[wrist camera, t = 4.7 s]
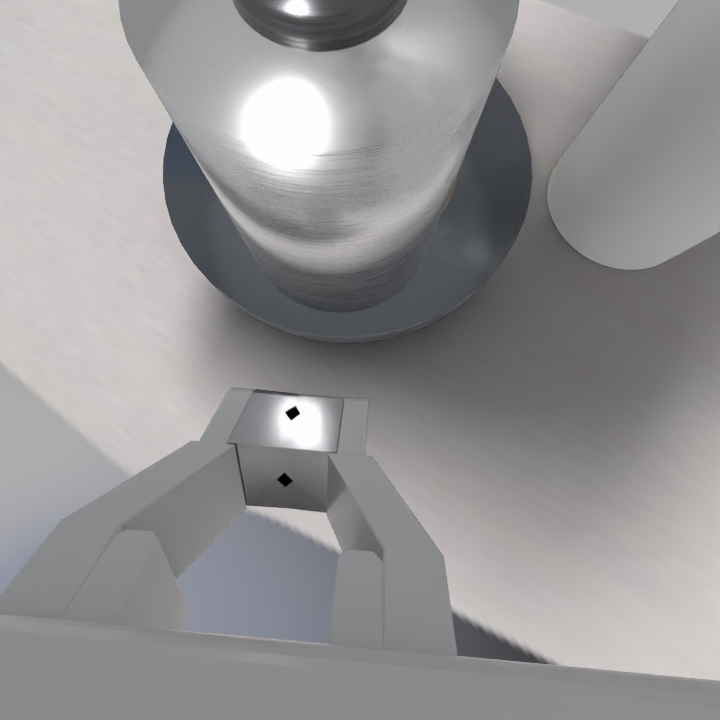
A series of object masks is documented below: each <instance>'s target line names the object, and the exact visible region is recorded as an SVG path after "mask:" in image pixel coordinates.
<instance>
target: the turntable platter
mask: <svg viewBox="0 0 720 720" xmlns="http://www.w3.org/2000/svg"><path fill="white" fill-rule="evenodd" d="M531 178H532V175H531V156H530V151H529V146H528V141H527V136H526V133H525V130H524V127H523V124H522V122H521V119H520V116H519V114H518V112H517V110H516V108H515V106H514V104H513V102H512V100H511V98H510V97H509V95H508V94H507V92H506V91H505V90H504V88H503V87H502V85H501V84H500V82H499V81H498V80H497V79H496V78H495V80H494V83H493V85H492V88H491V90H490V93H489V95H488V98H487V100H486V103H485V105H484V108H483V111H482V113H481V116H480V118H479V121H478V123H477V126H476V128H475V131H474V133H473V136H472V138H471V141H470V144H469V146H468V149H467V151H466V154H465V156H464V159H463V161H462V164H461V166H460V169H459V172H458V174H457V177H456V179H455V182H454V184H453V187H452V189H451V192H450V194H449V197H448V199H447V202H446V205H445V207H444V210H443V212H442V215H441V217H440V220H439V222H438V225H437V227H436V230H435V233H434V235H433V238H432V240H431V243H430V245H429V248H428V250H427V253H426V255H425V258H424V260H423V262H422V264H421V266H420V268H419V270H418V271H417V273H416V275H415V276H414V277H413V279H412V280H411V281H410V282H409V283H408V284H407V286H405V287H404V288H403V289H402V290H401V291H400V292H399V293H398V294H396V295H395V296H393V297H392V298H390V299H389V300H387V301H385V302H383V303H381V304H379V305H377V306H374V307H371V308H368V309H364V310H360V311H355V312H344V313H337V312H325V311H320V310H315V309H312V308H309V307H306V306H303V305H301V304H299V303H297V302H295V301H293V300H291V299H290V298H288V297H287V296H285V295H284V294H282V293H281V292H280V291H279V290H278V289H276V288H275V287H274V285H273V284H272V283H271V282H270V281H269V280H268V279H267V277H266V276H265V274H264V273H263V272H262V270H261V268H260V267H259V265H258V263H257V262H256V260H255V258H254V257H253V255H252V253H251V252H250V250H249V248H248V247H247V245H246V243H245V242H244V240H243V238H242V237H241V235H240V233H239V231H238V230H237V228H236V226H235V225H234V223H233V221H232V220H231V218H230V216H229V215H228V213H227V211H226V210H225V208H224V206H223V205H222V203H221V201H220V200H219V198H218V196H217V195H216V193H215V191H214V189H213V188H212V186H211V184H210V183H209V181H208V179H207V178H206V176H205V174H204V173H203V171H202V169H201V168H200V166H199V164H198V163H197V161H196V159H195V158H194V156H193V154H192V153H191V151H190V149H189V147H188V146H187V144H186V142H185V141H184V139H183V137H182V136H181V134H180V132H179V131H178V129H177V127H176V126H175V124H174V122H172V126H171V129H170V132H169V135H168V138H167V143H166V149H165V154H164V163H163V184H164V192H165V199H166V205H167V208H168V211H169V215H170V218H171V222H172V225H173V227H174V229H175V231H176V233H177V236H178V238H179V240H180V242H181V244H182V246H183V247H184V249H185V250H186V252H187V253H188V255H189V257H190V258H191V260H192V261H193V263H194V264H195V265H196V266H197V267H198V269H199V270H200V271H201V272H202V273H203V274H204V275H205V276H206V278H207V279H208V280H209V281H210V282H211V283H212V284H213V285H214V286H215V287H216V288H217V289H218V290H219V291H220V292H221V293H222V294H223V295H224V296H225V297H226V298H228V299H229V300H230V301H231V302H232V303H234V304H235V305H236V306H237V307H238V308H240V309H241V310H243V311H244V312H246V313H247V314H249V315H250V316H252V317H254V318H255V319H257V320H258V321H260V322H263V323H265V324H267V325H269V326H271V327H273V328H275V329H278V330H280V331H283V332H286V333H289V334H292V335H296V336H299V337H302V338H307V339H312V340H318V341H324V342H336V343H360V342H373V341H379V340H384V339H389V338H393V337H398V336H401V335H404V334H407V333H410V332H413V331H416V330H419V329H421V328H424V327H426V326H427V325H429V324H431V323H433V322H435V321H437V320H439V319H441V318H443V317H445V316H446V315H448V314H449V313H450V312H452V311H453V310H455V309H456V308H458V307H459V306H461V305H462V304H463V303H464V302H465V301H466V300H467V299H469V298H470V297H471V296H472V295H473V294H474V293H475V292H476V291H477V290H478V289H479V288H480V287H481V286H482V285H483V284H484V282H485V281H486V280H487V279H488V278H489V277H490V275H491V274H492V273H493V272H494V271H495V269H496V268H497V267H498V266H499V264H500V263H501V262H502V261H503V260H504V258H505V256H506V255H507V253H508V251H509V250H510V248H511V247H512V245H513V243H514V242H515V240H516V238H517V235H518V233H519V230H520V228H521V226H522V223H523V221H524V218H525V214H526V210H527V206H528V202H529V198H530V188H531Z"/></svg>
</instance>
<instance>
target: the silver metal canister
mask: <svg viewBox="0 0 720 720" xmlns="http://www.w3.org/2000/svg"><path fill="white" fill-rule="evenodd" d="M518 5H519V0H119V8H120V17H121V22H122V25H123V29H124V32H125V35H126V39H127V42H128V44H129V46H130V48H131V50H132V52H133V54H134V56H135V58H136V60H137V62H138V63H139V65H140V67H141V69H142V70H143V72H144V74H145V75H146V77H147V79H148V80H149V82H150V84H151V85H152V87H153V89H154V90H155V92H156V94H157V95H158V97H159V99H160V100H161V102H162V104H163V105H164V107H165V109H166V111H167V112H168V114H169V116H170V117H171V119H172V121H173V122H174V124H175V126H176V127H177V129H178V131H179V132H180V134H181V136H182V137H183V139H184V141H185V142H186V144H187V146H188V147H189V149H190V151H191V153H192V154H193V156H194V158H195V159H196V161H197V163H198V164H199V166H200V168H201V169H202V171H203V173H204V174H205V176H206V178H207V179H208V181H209V183H210V184H211V186H212V188H213V189H214V191H215V193H216V195H217V196H218V198H219V200H220V201H221V203H222V205H223V206H224V208H225V210H226V211H227V213H228V215H229V216H230V218H231V220H232V221H233V223H234V225H235V226H236V228H237V230H238V231H239V233H240V235H241V237H242V238H243V240H244V242H245V243H246V245H247V247H248V248H249V250H250V252H251V253H252V255H253V257H254V258H255V260H256V262H257V263H258V265H259V267H260V268H261V270H262V272H263V273H264V274H265V276H266V277H267V279H268V280H269V281H270V282H271V283H272V284H273V285H274V287H275V288H276V289H278V290H279V291H280V292H281V293H282V294H284V295H285V296H287V297H288V298H290V299H291V300H293V301H295V302H297V303H299V304H301V305H303V306H306V307H309V308H312V309H315V310H320V311H325V312H337V313H344V312H355V311H360V310H364V309H368V308H371V307H374V306H377V305H379V304H381V303H383V302H385V301H387V300H389V299H390V298H392V297H393V296H395V295H396V294H398V293H399V292H400V291H401V290H402V289H403V288H404V287H405V286H407V284H408V283H409V282H410V281H411V280H412V279H413V277H414V276H415V275H416V273H417V271H418V270H419V268H420V266H421V264H422V262H423V260H424V258H425V255H426V253H427V250H428V248H429V245H430V243H431V240H432V238H433V235H434V233H435V230H436V227H437V225H438V222H439V220H440V217H441V215H442V212H443V210H444V207H445V205H446V202H447V199H448V197H449V194H450V192H451V189H452V187H453V184H454V182H455V179H456V177H457V174H458V172H459V169H460V166H461V164H462V161H463V159H464V156H465V154H466V151H467V149H468V146H469V144H470V141H471V138H472V136H473V133H474V131H475V128H476V126H477V123H478V121H479V118H480V116H481V113H482V111H483V108H484V105H485V103H486V100H487V98H488V95H489V93H490V90H491V88H492V85H493V83H494V80H495V77H496V75H497V72H498V70H499V67H500V65H501V62H502V60H503V57H504V55H505V52H506V50H507V47H508V44H509V42H510V39H511V36H512V33H513V30H514V26H515V23H516V19H517V14H518Z"/></svg>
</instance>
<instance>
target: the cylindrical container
mask: <svg viewBox="0 0 720 720" xmlns="http://www.w3.org/2000/svg"><path fill="white" fill-rule="evenodd" d="M547 201H548V206H549V211H550V215H551V217H552V219H553V222H554V224H555V226H556V228H557V229H558V231H559V232H560V234H561V235H562V237H563V238H564V239H565V240H566V241H567V242H568V243H569V244H570V245H571V246H572V247H573V248H574V249H575V250H577V251H578V252H579V253H581V254H582V255H583V256H585V257H587V258H589V259H591V260H592V261H594V262H596V263H598V264H602V265H605V266H608V267H611V268H616V269H624V270H638V269H646V268H650V267H654V266H657V265H660V264H662V263H663V262H665V261H667V260H669V259H671V258H673V257H675V256H676V255H678V254H680V253H682V252H684V251H686V250H687V249H689V248H691V247H693V246H695V245H697V244H698V243H700V242H702V241H704V240H706V239H708V238H709V237H711V236H713V235H715V234H717V233H719V232H720V0H679V1H678V2H677V4H676V5H675V6H674V7H673V9H672V10H671V11H670V13H669V14H668V15H667V17H666V18H665V19H664V21H663V22H662V23H661V25H660V26H659V28H658V29H657V30H656V31H655V33H654V34H653V35H652V37H651V38H650V39H649V41H648V42H647V43H646V45H645V46H644V47H643V49H642V50H641V51H640V53H639V54H638V55H637V57H636V58H635V59H634V61H633V62H632V63H631V65H630V66H629V67H628V69H627V70H626V71H625V73H624V74H623V75H622V77H621V78H620V79H619V81H618V82H617V83H616V85H615V86H614V87H613V89H612V90H611V91H610V93H609V94H608V95H607V97H606V98H605V99H604V101H603V102H602V103H601V105H600V106H599V107H598V109H597V110H596V111H595V113H594V114H593V115H592V117H591V118H590V119H589V121H588V122H587V123H586V125H585V126H584V127H583V129H582V130H581V131H580V133H579V134H578V135H577V137H576V138H575V139H574V141H573V142H572V143H571V145H570V146H569V147H568V149H567V150H566V151H565V153H564V154H563V155H562V157H561V158H560V159H559V161H558V162H557V164H556V165H555V167H554V169H553V171H552V173H551V175H550V179H549V183H548V188H547Z"/></svg>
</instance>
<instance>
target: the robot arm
mask: <svg viewBox="0 0 720 720" xmlns="http://www.w3.org/2000/svg"><path fill="white" fill-rule="evenodd" d="M367 419H368V400H367V399H362V398H347V397H345V398H340V397H328V396H315V395H303V394H301V395H300V394H294V393H285V392H276V391H267V390H258V389H256V390H254V389H245V388H236V387H233V388H231V389H230V390H229V391H228V392H227V394H226V395H225V397H224V399H223V400H222V402H221V404H220V406H219V407H218V409H217V411H216V413H215V414H214V416H213V418H212V420H211V421H210V423H209V425H208V426H207V428H206V430H205V432H204V433H203V435H202V437H201V439H200V440H199V441H190V442H189V443H187V444H186V445H184V446H182V447H181V448H179V449H177V450H176V451H174V452H172V453H171V454H169V455H167V456H166V457H164V458H163V459H161V460H159V461H158V462H156V463H154V464H153V465H151V466H149V467H148V468H146V469H144V470H143V471H141V472H140V473H138V474H136V475H135V476H133V477H131V478H130V479H128V480H126V481H125V482H123V483H121V484H120V485H118V486H117V487H115V488H113V489H112V490H110V491H108V492H107V493H105V494H104V495H102V496H100V497H99V498H97V499H95V500H94V501H92V502H90V503H89V504H87V505H85V506H84V507H82V508H80V509H79V510H77V511H76V512H74V513H72V514H71V515H69V516H67V517H66V518H64V519H62V520H61V521H60V522H59V523H58V525H57V526H56V527H55V528H54V530H53V531H52V532H51V534H50V535H49V536H48V537H47V538H46V540H45V541H44V542H43V543H42V545H41V546H40V547H39V548H38V549H37V551H36V552H35V553H34V555H33V556H32V557H31V558H30V559H29V561H28V562H27V563H26V564H25V566H24V567H23V568H22V569H21V571H20V572H19V573H18V574H17V576H16V577H15V578H14V579H13V581H12V582H11V583H10V584H9V586H8V587H7V588H6V589H5V590H4V592H3V593H2V594H1V595H0V720H720V681H717V680H706V679H696V678H685V677H675V676H664V675H653V674H643V673H632V672H621V671H611V670H600V669H590V668H579V667H568V666H558V665H547V664H536V663H526V662H515V661H505V660H494V659H482V658H472V657H462V656H457V650H456V643H455V635H454V628H453V620H452V613H451V605H450V598H449V591H448V583H447V576H446V569H445V561H444V556H443V555H442V553H441V552H440V550H439V549H438V548H437V546H436V545H435V543H434V542H433V541H432V539H431V538H430V536H429V535H428V534H427V532H426V531H425V529H424V528H423V527H422V525H421V524H420V522H419V521H418V520H417V518H416V517H415V515H414V514H413V513H412V511H411V510H410V508H409V507H408V506H407V504H406V503H405V501H404V500H403V499H402V497H401V496H400V494H399V493H398V492H397V490H396V489H395V487H394V486H393V485H392V483H391V482H390V480H389V479H388V478H387V476H386V475H385V473H384V472H383V471H382V469H381V468H380V466H379V465H378V464H377V462H376V461H375V459H374V458H373V457H368V456H365V455H366V437H367ZM246 506H262V507H278V508H290V509H299V510H307V511H316V512H324V513H327V517H328V519H329V521H330V523H331V526H332V528H333V530H334V533H335V535H336V537H337V540H338V542H339V544H340V547H341V549H342V551H343V553H342V554H341V555H340V556H339V557H338V565H337V573H336V581H335V589H334V599H333V606H332V615H331V623H330V631H329V640H328V644H324V643H313V642H303V641H291V640H281V639H271V638H259V637H249V636H239V635H228V634H218V633H207V632H196V631H185V630H183V627H184V625H185V622H186V620H187V617H188V614H189V609H188V606H187V604H186V601H185V599H184V597H183V594H182V592H181V590H180V588H179V586H178V583H177V581H176V579H177V578H178V577H179V576H180V575H181V574H182V573H183V572H184V571H185V569H187V568H188V567H189V566H190V564H192V563H193V562H194V561H195V559H196V558H197V557H198V556H199V555H200V554H201V553H202V552H203V551H204V550H205V549H206V548H207V547H208V546H209V545H210V544H211V543H212V542H213V541H214V540H215V539H216V538H217V537H218V536H219V535H220V534H221V533H222V532H223V531H224V530H225V529H226V528H227V527H228V526H229V525H230V524H231V523H232V522H233V521H234V520H235V519H236V518H237V517H238V516H239V515H240V514H241V513H242V512H243V511H244V510H245V509H246Z"/></svg>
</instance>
